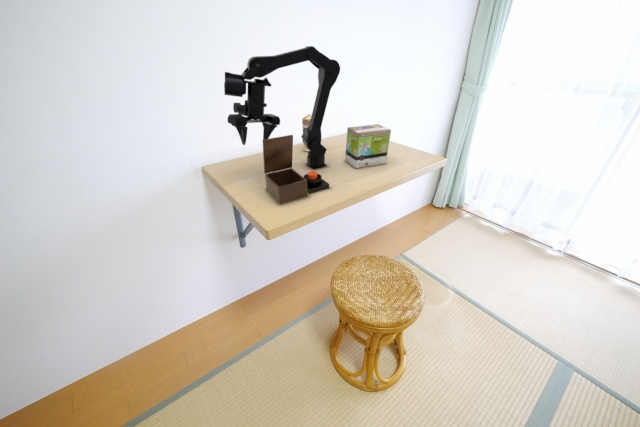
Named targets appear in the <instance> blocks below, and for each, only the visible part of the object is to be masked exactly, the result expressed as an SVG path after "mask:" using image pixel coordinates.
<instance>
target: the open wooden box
mask: <svg viewBox="0 0 640 427" xmlns="http://www.w3.org/2000/svg"><path fill="white" fill-rule="evenodd" d="M264 179H265V187H266V191H267V192H268V193H269V194H270V196H272V197H273V199H274V200H275V201H276V202H277V203H278V204H279V205H283V204H287V203H290V202H293V201H297V200H300V199H301V200H302V199H304V198H307V197H309V193H308V189H307V180H306V179H305V178H304V177H303V175H301V174H300V173H299V172H297V171H296V170H295V169H294V168H293V167H292V168H288V169H283V170H279V171H274V172H270V173H264Z"/></svg>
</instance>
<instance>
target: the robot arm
mask: <svg viewBox="0 0 640 427" xmlns="http://www.w3.org/2000/svg"><path fill="white" fill-rule="evenodd" d="M304 62H310V64H311V65H313V66H314V67H315V68H316V69H317V70H318V72H317V80H318V81H317V82H318V87H317V91H316V96H315V99H314V104H313V109H312V112H311V115H312V117H311V121H310V124H309V126H308V127H307V128H305V127H304V128H303V127H302V135H301V136H300V137H301V139H302V143H303V146H304V145H305V146H306V147H307V148H308V149H309V150H310V151H307V155H306V159H307V160H306V166H308V167H309V168H311V169H312V170H316V169H321V168H324V167H327V164H326V163H325V162H326V161H325V159H326V158H325V156H326V152H327V148H326V147H325V146H324V145H323V144H322V125H323V121H324V117H325V113H326V109H327V105H328V102H329V97H330V93H331V90H332V88H333V87H334V85H335V83H337V80H338V77H339V75H340V72H341V66H340V63H339V62H338V61H337V60H335V59H331V58H329V57H328V56H326V54H323V53H322V52H320V51H319V50H318V49H317V48H316V47H315V46H313V45H310V46H309V45H307V46H305V47H302V48H299V49H294V50H290V51H287V52H283V53H279V54H276V55H255V56H251V57H250V58H249V59H248V60H247V65H246V68H245V69H244V70H243V71H242V73H241V74H238V73H232V72H229V71H224V82H223V89H224V91H223V92H224V96H228V97H229V96H230V97H239V98H240V97H241V98H243V96H244V95H247V99H245V100H244V104H241V102H233V107H232V109H233V112H234V113H232V114H231V113H230V114H229V115H228V116H227V123H228V124H230V125H231V126H233V127H235V129H236V131H237V132H238V135H239V138H240V141H241V144H242V145H243V146H245V145H246V142H247V138H248V136H247V135H248V130H249V129H248V126H247V125H248V124H254V123H255V124H256V123H261V124H262V126H263V131H262V132H263V133H262V134H263V135H262V136H263V137H262V141H263V140H264V139H270V137H271V135H272V133H273V132H274V131H275V129H276V128H278V126H279V125H281V118H280V116H278V115H275V114H273V113H265V108H267V106H268V104H267V103H266V102H265V100H266V99H265V98H266V87H272V84H271V82H270V81H269V79H268V78H267V77H266V76H267V75H270V74H271V73H273V72H274V71H276V70H278V69H282V68H285V67H290V66H293V65H297V64H300V63H304ZM260 78H263V79H260ZM252 79H254V80H252Z"/></svg>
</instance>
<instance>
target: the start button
mask: <svg viewBox="0 0 640 427" xmlns="http://www.w3.org/2000/svg"><path fill="white" fill-rule="evenodd" d="M306 174H307V178H308V179H317V178H318V177H317V174H318V171H316V170H315V171H314V170H311V171H307V173H306Z"/></svg>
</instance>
